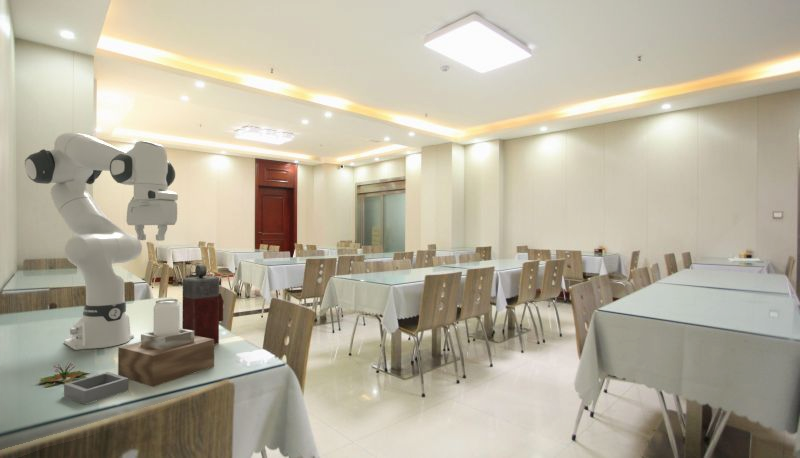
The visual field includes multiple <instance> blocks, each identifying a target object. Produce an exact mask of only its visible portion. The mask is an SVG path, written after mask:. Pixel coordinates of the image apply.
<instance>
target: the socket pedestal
mask: <svg viewBox="0 0 800 458" xmlns="http://www.w3.org/2000/svg"><path fill="white" fill-rule="evenodd" d="M117 349H118V350H117V352H118V353H117V358H118V359H117V362H118V363H117V375H120V376H123V377H126V378H129V381H132V382H135V383H140V384H143V385H144V386H149V387H152V388H153V387H156V386H159V385H162V384H166V383H169V382H172V381H174V380H178V379H180V378H183V377H187V376H190V375H193V374H196V373H198V372H202V371H204V370H208V369H210V368H213V367H215V344H214V339H210V338H205V337H199V336H194V331H192V330H186V329H182V328H181V327H180V333H179V334H175V335H171V336H166V337H159V336H154V331H150V332H145V333H144V332H143V333H141V334H140V341H139V342H135V343H134V342H133V343H131V344H126V345H121V346H118V348H117Z"/></svg>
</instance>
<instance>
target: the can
mask: <svg viewBox="0 0 800 458" xmlns="http://www.w3.org/2000/svg"><path fill="white" fill-rule="evenodd" d="M178 301H179V299H174V298H173V299H172V298H169V299H168V298H167V299H159V300H156V301H155V304H154V306H153V332H154V336H159V337H166V336H171V335H175V334H179V333H180V328H181V327H180V325H181V324H180V320H181V319H180V318H181V313H180V312H181V311H180V309H181V308H180V307H181V306H180V303H179V302H178Z"/></svg>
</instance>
